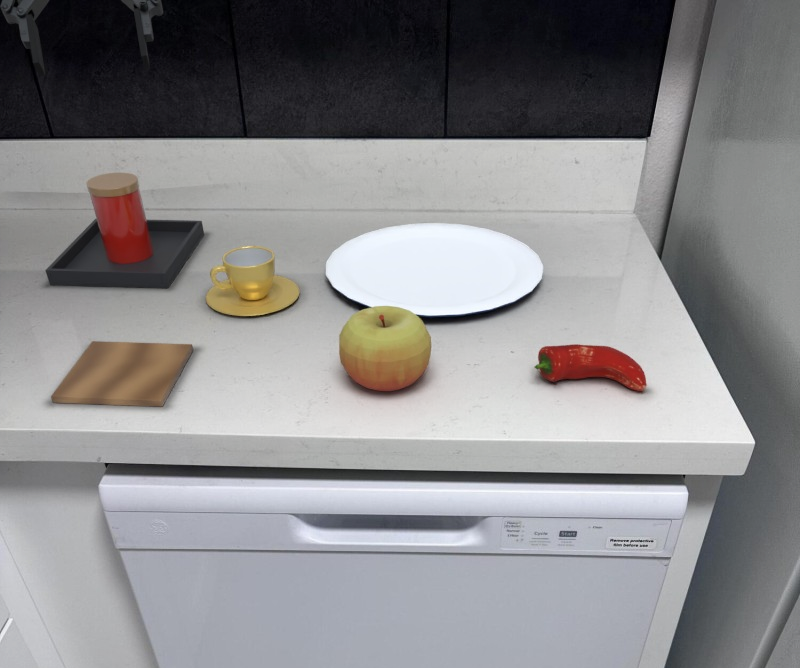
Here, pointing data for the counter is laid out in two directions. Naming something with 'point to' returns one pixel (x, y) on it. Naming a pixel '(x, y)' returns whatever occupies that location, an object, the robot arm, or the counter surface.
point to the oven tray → (92, 267)
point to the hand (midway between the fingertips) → (93, 66)
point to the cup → (250, 284)
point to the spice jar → (121, 217)
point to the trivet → (124, 374)
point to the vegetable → (590, 364)
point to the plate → (434, 269)
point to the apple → (384, 348)
